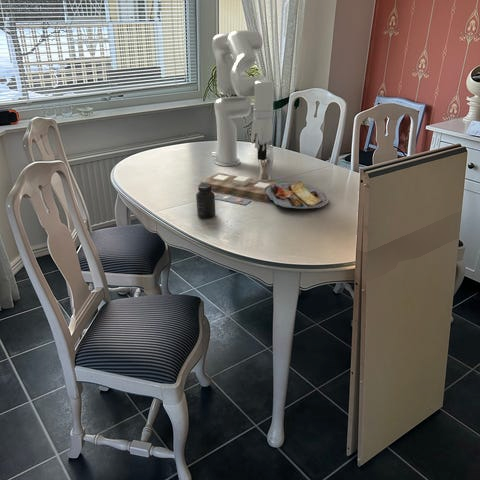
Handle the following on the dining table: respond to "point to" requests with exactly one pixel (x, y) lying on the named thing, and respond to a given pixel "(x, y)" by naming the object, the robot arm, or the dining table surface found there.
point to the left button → (221, 178)
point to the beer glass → (267, 165)
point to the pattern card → (231, 199)
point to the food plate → (296, 195)
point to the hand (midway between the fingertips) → (261, 159)
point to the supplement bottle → (205, 201)
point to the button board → (238, 188)
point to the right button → (261, 186)
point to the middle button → (241, 181)
